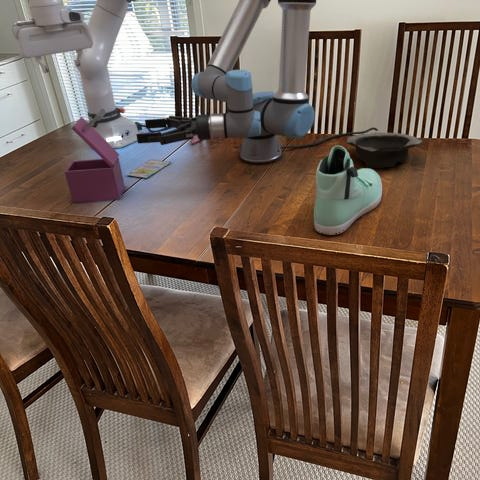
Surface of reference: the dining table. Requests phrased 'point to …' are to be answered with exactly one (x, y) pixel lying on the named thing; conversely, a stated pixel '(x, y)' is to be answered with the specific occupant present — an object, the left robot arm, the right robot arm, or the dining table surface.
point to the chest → (94, 180)
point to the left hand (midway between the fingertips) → (62, 69)
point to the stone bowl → (382, 148)
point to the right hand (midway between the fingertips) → (141, 131)
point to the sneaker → (343, 192)
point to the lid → (96, 139)
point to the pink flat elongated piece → (195, 141)
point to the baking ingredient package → (148, 168)
